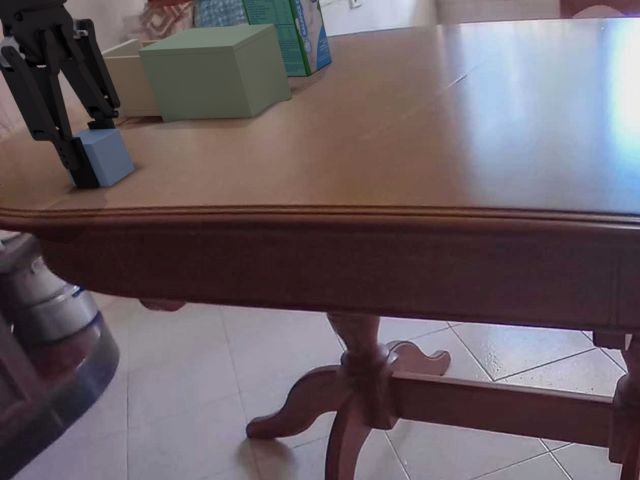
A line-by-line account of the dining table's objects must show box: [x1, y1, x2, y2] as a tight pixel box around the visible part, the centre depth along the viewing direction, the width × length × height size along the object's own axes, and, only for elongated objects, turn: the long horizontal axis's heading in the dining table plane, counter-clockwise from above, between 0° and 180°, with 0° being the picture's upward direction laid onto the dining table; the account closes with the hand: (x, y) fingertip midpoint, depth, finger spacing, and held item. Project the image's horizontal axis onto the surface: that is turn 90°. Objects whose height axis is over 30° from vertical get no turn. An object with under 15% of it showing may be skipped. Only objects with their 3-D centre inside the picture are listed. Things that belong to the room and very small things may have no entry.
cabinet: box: [138, 24, 293, 124], centre depth 103 cm, size 15×13×11 cm
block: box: [65, 128, 136, 187], centre depth 83 cm, size 5×5×6 cm
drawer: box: [101, 38, 162, 121], centre depth 105 cm, size 18×11×9 cm, turn 78°
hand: (105, 182), depth 85 cm, fingers closed on block, 5 cm apart
